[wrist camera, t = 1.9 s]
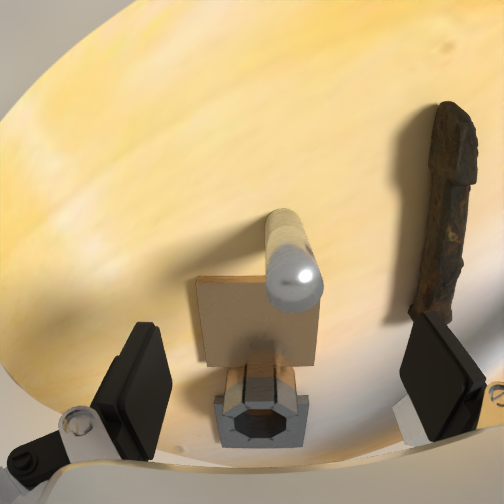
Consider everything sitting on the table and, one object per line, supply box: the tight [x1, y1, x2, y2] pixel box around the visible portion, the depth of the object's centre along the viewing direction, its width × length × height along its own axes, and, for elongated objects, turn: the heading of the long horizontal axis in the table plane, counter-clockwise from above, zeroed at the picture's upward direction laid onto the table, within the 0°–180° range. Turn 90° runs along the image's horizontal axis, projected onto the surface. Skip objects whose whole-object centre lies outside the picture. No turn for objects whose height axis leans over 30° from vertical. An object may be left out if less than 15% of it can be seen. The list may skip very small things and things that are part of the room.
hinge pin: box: [265, 208, 324, 313], centre depth 20 cm, size 3×3×10 cm
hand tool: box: [408, 101, 478, 325], centre depth 22 cm, size 19×4×5 cm, turn 2°
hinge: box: [196, 276, 320, 448], centre depth 28 cm, size 10×24×6 cm, turn 2°
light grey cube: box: [392, 394, 433, 447], centre depth 29 cm, size 6×6×6 cm
